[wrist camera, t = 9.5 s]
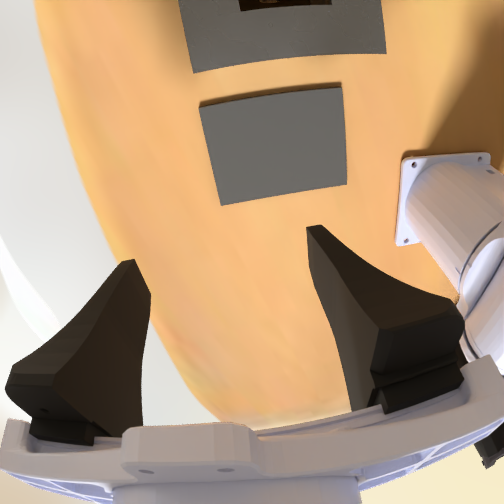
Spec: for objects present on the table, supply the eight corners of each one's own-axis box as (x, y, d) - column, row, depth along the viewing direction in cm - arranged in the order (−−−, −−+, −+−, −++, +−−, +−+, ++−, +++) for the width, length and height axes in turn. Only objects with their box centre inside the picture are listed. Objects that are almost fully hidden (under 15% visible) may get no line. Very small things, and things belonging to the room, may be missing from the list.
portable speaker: (420, 354, 38) (469, 478, 23) (437, 309, 33) (508, 454, 17) (467, 338, 38) (520, 448, 23) (488, 293, 33) (561, 416, 17)
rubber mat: (339, 86, 18) (341, 87, 18) (345, 182, 22) (346, 184, 22) (198, 107, 18) (198, 108, 18) (221, 203, 23) (221, 205, 22)
